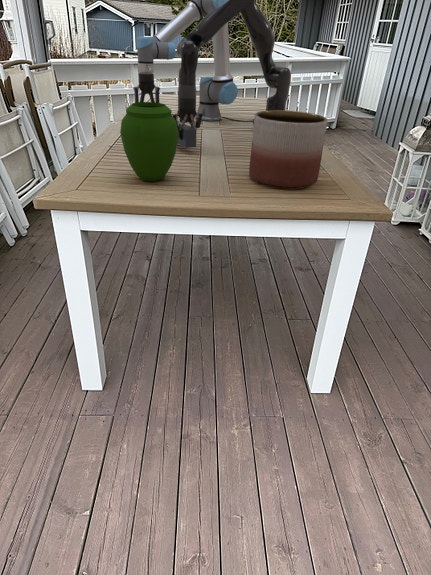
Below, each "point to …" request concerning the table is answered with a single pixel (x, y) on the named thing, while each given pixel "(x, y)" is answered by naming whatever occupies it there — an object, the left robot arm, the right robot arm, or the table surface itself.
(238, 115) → the table surface
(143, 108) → the vase
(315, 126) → the planter
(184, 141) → the beam
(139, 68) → the left robot arm
